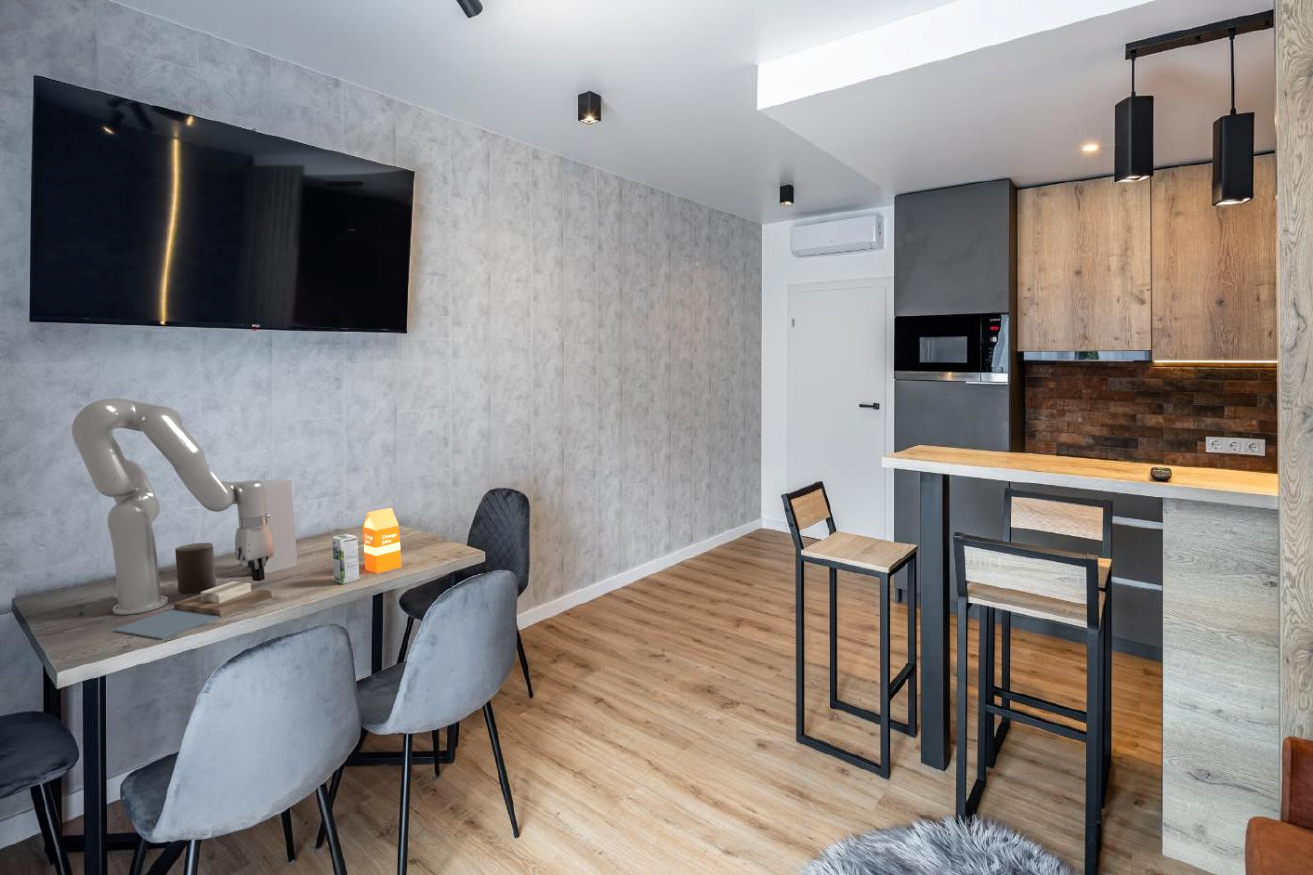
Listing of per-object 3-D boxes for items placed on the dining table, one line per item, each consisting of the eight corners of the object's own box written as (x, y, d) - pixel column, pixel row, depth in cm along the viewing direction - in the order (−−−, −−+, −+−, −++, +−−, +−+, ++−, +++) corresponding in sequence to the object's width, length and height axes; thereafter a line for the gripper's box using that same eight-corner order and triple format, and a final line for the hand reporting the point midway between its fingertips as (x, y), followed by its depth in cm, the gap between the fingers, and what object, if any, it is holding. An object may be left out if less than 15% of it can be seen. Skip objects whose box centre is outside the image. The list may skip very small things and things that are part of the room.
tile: (201, 600, 188) (200, 592, 188) (233, 589, 197) (233, 581, 197) (219, 603, 186) (218, 594, 185) (251, 591, 195) (250, 583, 195)
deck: (174, 610, 186) (173, 603, 186) (227, 591, 201) (226, 585, 201) (220, 617, 180) (219, 610, 180) (271, 597, 195) (271, 590, 195)
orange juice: (365, 569, 221) (361, 511, 219) (389, 562, 228) (386, 506, 226) (377, 573, 217) (373, 514, 214) (401, 566, 223) (398, 509, 221)
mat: (114, 631, 171) (113, 629, 171) (172, 610, 186) (172, 609, 186) (162, 639, 166) (162, 637, 166) (218, 617, 180) (218, 616, 180)
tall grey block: (291, 562, 230) (284, 478, 227) (297, 565, 226) (291, 480, 223) (245, 573, 219) (238, 484, 216) (252, 576, 216) (244, 486, 212)
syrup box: (333, 581, 209) (330, 536, 208) (351, 576, 214) (348, 532, 212) (342, 584, 206) (339, 539, 204) (360, 579, 210) (357, 535, 209)
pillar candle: (197, 595, 198) (193, 547, 196) (170, 593, 200) (166, 545, 198) (224, 585, 207) (220, 538, 206) (198, 583, 209) (194, 537, 208)
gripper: (265, 515, 207) (270, 571, 209) (221, 526, 193) (226, 586, 195) (284, 516, 205) (288, 573, 207) (239, 528, 191) (245, 589, 193)
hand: (258, 580), depth 201 cm, fingers closed
